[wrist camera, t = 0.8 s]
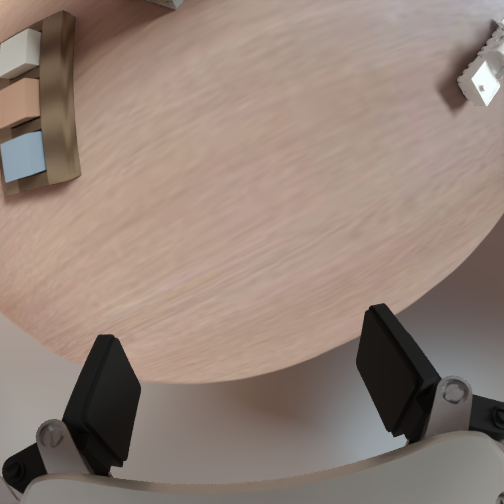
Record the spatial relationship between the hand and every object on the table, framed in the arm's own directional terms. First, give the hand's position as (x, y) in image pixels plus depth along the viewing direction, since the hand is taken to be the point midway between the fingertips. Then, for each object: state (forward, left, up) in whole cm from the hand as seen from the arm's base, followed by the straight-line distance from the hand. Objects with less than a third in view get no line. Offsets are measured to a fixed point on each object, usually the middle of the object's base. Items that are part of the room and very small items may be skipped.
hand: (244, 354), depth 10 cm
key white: (-23, -25, -24) cm, 42 cm away
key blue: (-9, -25, -24) cm, 36 cm away
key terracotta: (-16, -25, -24) cm, 39 cm away
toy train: (-26, +46, -28) cm, 59 cm away
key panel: (-16, -25, -27) cm, 40 cm away
